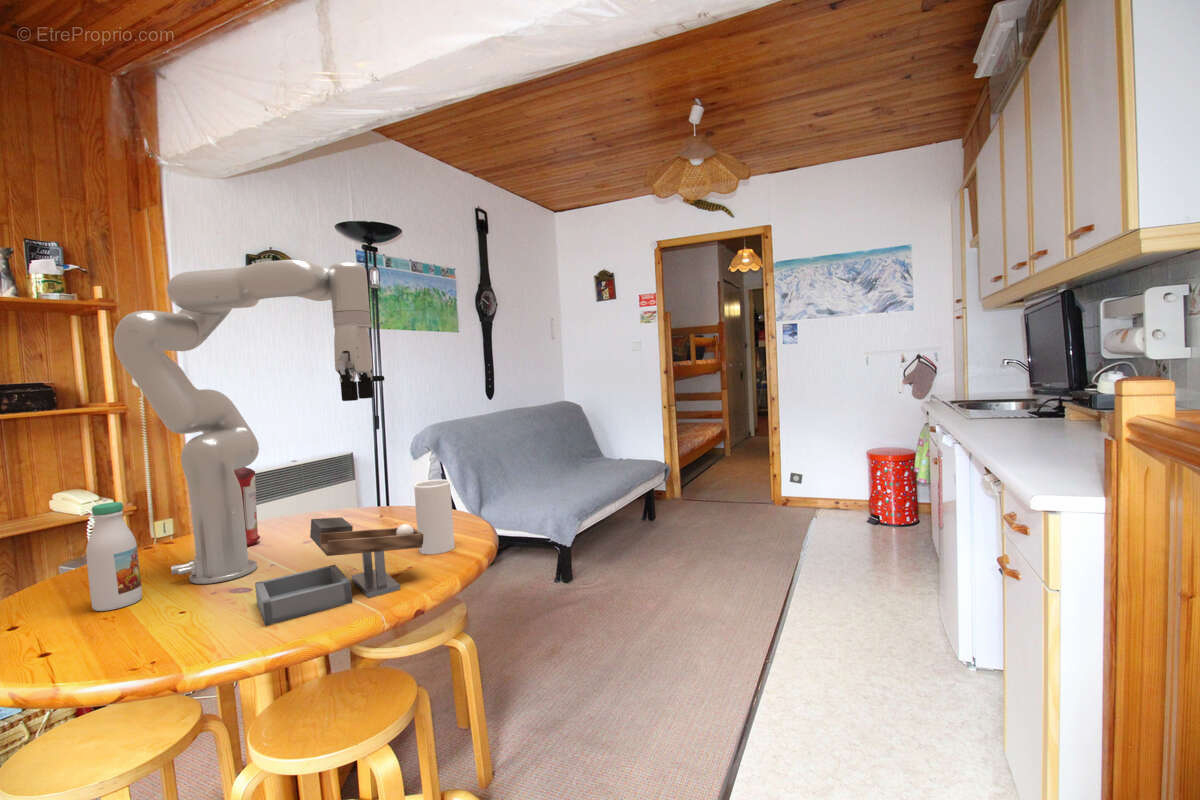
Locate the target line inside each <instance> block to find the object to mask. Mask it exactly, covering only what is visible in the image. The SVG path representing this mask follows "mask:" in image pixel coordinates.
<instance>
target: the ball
mask: <svg viewBox="0 0 1200 800" xmlns="http://www.w3.org/2000/svg"><path fill="white" fill-rule="evenodd" d="M397 528H398V529H397V531H396V535H410V534H414V530H413V528H414V527H412V525H410V524H408V523H403V524H400V525H399V526H398V527H397Z"/></svg>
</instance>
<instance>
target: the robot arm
mask: <svg viewBox="0 0 1200 800" xmlns="http://www.w3.org/2000/svg"><path fill="white" fill-rule="evenodd" d="M368 287H369V284H368V275H367V269H366V268H365V266H364V265H363V264H360V263H358V262H357V263H356V262H349V261H348V262H337V263H333V264H331V266H330V267H324V266H320V265H317V264H315V263H312V262H309V261H306V260H302V259H280V260H267V261H260V262H255V263H251V264H247V265H244V266H243V267H242V266H241V267H231V268H223V269H222V268H221V269H220V268H219V269H206V270H193V271H185V272H181V273H178V274H176V275H174V276H173V277H171V278H170V280H169V281H168V284H167V287H166V291H167V295H168V297H169V299H170V300H171V302H172V303H173V304H174V305H175V306H177V307H179V308H180V310H179V311H178V312H177V313H175V312H168V311H162V310H161V311H160V310H149V309H148V310H145V309H144V310H138V311H133V312H131V313H128V314H127V315H125V316H124V317H122V319H120V321H119V322H118V323H117V325H116V327H115V331H114V335H113V347H114V351H115V355H116V356H117V358H118V360H119V362H120V364H121V365H122V367H123V368H124V370H125V371H126V372H127V373H128V375H129V376H130V377H131V378H132V379H133V381H134V382H135V383H136V385H137V386H138V387H139V389H140V390H141V392H142V394H143V395H144V397H145V398H146V400H147V401H148V402H149V404H150V406H151V407H152V409H153V410H154V411H155V413H156V414H157V417H159V419H160V420H161V422H162V424H163V425H164V426H165V427H166V428H167V429H168V430H169V431H171V432H172V433H174V434H180V435H186V434H194V433H201V432H202V434H199V435H196V436H194V437H192V438H190V440H188V441H187V442H186V444H184V445H183V447H182V451H181V454H180V463H181V468H182V470H183V473H184V476H185V478H186V479H185V480H186V483H187V487H188V492H189V500H190V509H191V510H190V511H191V519H192V529H193V537H194V538H193V539H194V548H195V556H194V559H193V560H189V561H188V562H187V563H177V564H173V565H170V566H171V567H170V568H171V575H172V576H173V575H178V576H182V575H186V574H189V573H190V574H189V577H188V579H189V582H190V583H192V584H196V585H198V584H199V585H200V584H201V585H204V584H205V585H206V584H215V583H216V584H217V583H221V582H227V581H230V580H235V579H238V578H241V577H243V576H244V577H245V576H246V575H248V574H250V573H252V572H254V571H255V570H256V569H257V567H258V565H257V561H256V560H253V559H249V554H248V546H247V542H246V531H245V520H244V510H243V500H242V492H241V487H240V484H239V482H238V479H237V477H236V475H235V473H234V470H237V469H241V468H244V467H246V468H247V467H249V466H250V465H251V464H252V463H253V462H255V460H256V459H257V458H258V455H259V451H260V450H259V449H260V446H259V442H258V439H257V437H256V435H255V434H254V432H253V431H252V429H251V428H250V426H249V425H248V423H247V421H246V420H245V418H244V417H243V416H242V414H241V413H240V411H239V410H238V409H237V407H236V405H235V403H233V401H232V400H231V399H230V398H229V396H227V395H225V394H224V393H222V392H220V391H218V390H215V389H210V388H209V389H206V388H204V389H198V388H196V387H195V386H194V384H192V382H191V381H190V379H189V378H188V377H187V374H186V373H185V372H184V370H183V368H182V367H181V366H180V365H178V364H177V363H176V362H175V361H174V360H173V359H171V357H169V356H168V355H167V353H166V352H187V351H192V350H194V349H196V348H198V347H200V345H202V344H203V343H204V342H205V341H206V340H207V339H208V338H209V337H210V336H211V335H212V334H213V332H214V331H215V330H216V329H217V328H218V327H219V326H220V325H221V323H222V322H223V321H224V320H225V319H226V317H228V315H229V314H230V313H231V312H232V310H233V309H243V308H245V309H246V308H252V307H256V305H257V304H258V303H259V301H260V300H265V299H273V298H274V299H275V298H285V297H287V298H288V297H289V298H290V297H298V298H302V299H303V298H304V299H307V300H311V301H315V302H316V301H317V302H326V301H330V300H331V301H330V302H331V309H332V310H331V311H332V312H331V313H332V323H333V329H334V336H333V337H334V341H333V343H334V344H333V347H334V348H333V349H334V368H335V371H336V373H338V375H339V383H340V393H341V394H340V395H341V401H342V402H352V401H358V400H360V399H363V400H364V399H373V398H374V395H375V394H374V383H373V375H372V373H373V359H372V357H373V355H372V348H371V342H370V334H369V328H372V326H371V325H372V322H371V310H370V300H369V288H368ZM165 351H166V352H165ZM356 376H357V378H358V379H357V381H356Z"/></svg>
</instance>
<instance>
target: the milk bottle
mask: <svg viewBox="0 0 1200 800" xmlns="http://www.w3.org/2000/svg"><path fill="white" fill-rule="evenodd" d="M123 513H124V505H123V502H121V501H111V502H103V503H100V504H99V503H98V504H96V505H93V506H92V507H91V514H92V518H93V519H94V524H93V525H94V526H93V529H92V532H91V534H90V535H89V538H88V541H87V544H86V551H85V552H86V554H85V555H86V564H87V565H86V567H87V575H88V576H87V577H88V585H89V586H88V587H89V594H90V602H91V603H90V604H91V608H92V610H93V611H95V612H105V611H112V610H117V609H122V608H125V607H128V606H130V605H133V604H135V603H137V602H139V601H140V600H142V597H143V589H142V588H143V587H142V580H141V571H140V569H141V568H140V562H139V561H140V560H139V552H138V545H137V540H136V538H135V536H134V533H133V531H132V530H131V529H130V528H129V527H128V526H127V524H126V522H125V520H124V517H123Z"/></svg>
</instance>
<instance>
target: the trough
mask: <svg viewBox="0 0 1200 800" xmlns="http://www.w3.org/2000/svg"><path fill="white" fill-rule="evenodd" d="M412 528H413V530H414V534H410V535H396V531H397V529H398V527H393V528H392V527H391V528H376V529H364V530H363V529H362V530H353V529H354V526H353V525H352V524H351V523H349V522H348V521H347V520H346V519H344V518H343V517H342V516H341V517H322V518H311V520H310V530H309V531H310V533H309V537H310V539H311V540H312V541H313V542H314V543H315V544H316V546H317V547H318V548H319V549H320V550H321V551H322V553H324V554H325V556H327V557H331V556H332V557H333V556H343V555H345V556H346V555H356V554H362V553H368V552H371V553H374V552H375V551H379V550H383V551H384V552H387V551H389V552H390V551H397V550H399V551H400V550H411V549H419V548H422V544H423V536H424V534H422V533H421V532H419V531H417V529H415V528H414V527H412Z"/></svg>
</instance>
